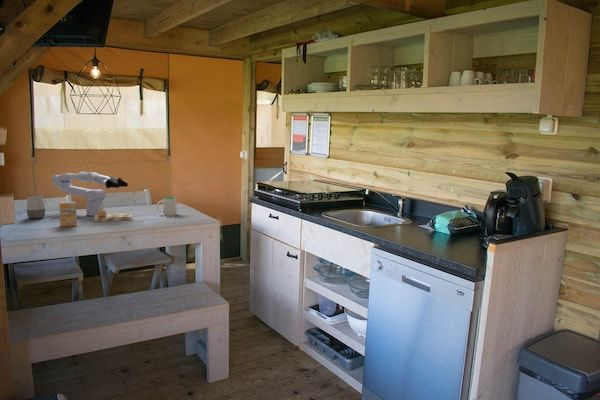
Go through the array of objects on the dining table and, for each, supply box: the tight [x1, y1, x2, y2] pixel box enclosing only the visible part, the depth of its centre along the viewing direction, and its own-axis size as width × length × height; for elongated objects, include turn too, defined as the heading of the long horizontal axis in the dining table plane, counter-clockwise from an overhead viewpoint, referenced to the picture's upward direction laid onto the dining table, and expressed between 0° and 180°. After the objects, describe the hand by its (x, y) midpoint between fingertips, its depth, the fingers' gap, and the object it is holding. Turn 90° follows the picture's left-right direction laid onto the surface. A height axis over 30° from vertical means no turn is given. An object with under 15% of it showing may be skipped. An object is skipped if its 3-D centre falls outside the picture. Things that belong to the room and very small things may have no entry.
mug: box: [156, 196, 178, 216], centre depth 304 cm, size 12×8×10 cm
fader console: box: [94, 213, 133, 223], centre depth 287 cm, size 20×10×2 cm, turn 113°
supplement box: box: [58, 201, 78, 227], centre depth 266 cm, size 8×5×13 cm, turn 118°
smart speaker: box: [26, 194, 46, 220], centre depth 284 cm, size 10×9×14 cm
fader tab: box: [98, 209, 107, 216], centre depth 284 cm, size 4×4×3 cm
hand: (123, 185), depth 289 cm, fingers open, 7 cm apart
